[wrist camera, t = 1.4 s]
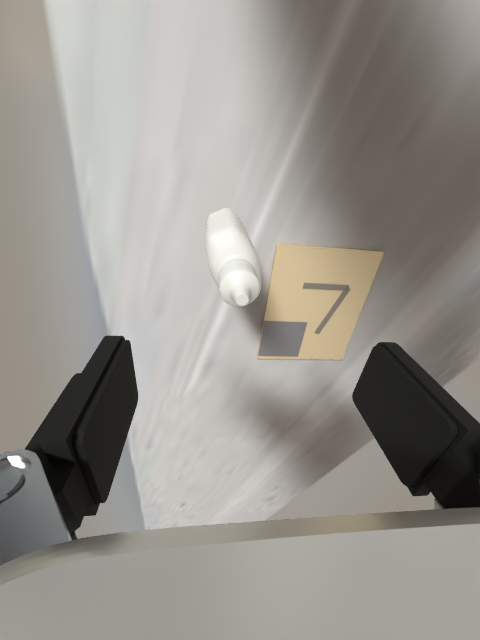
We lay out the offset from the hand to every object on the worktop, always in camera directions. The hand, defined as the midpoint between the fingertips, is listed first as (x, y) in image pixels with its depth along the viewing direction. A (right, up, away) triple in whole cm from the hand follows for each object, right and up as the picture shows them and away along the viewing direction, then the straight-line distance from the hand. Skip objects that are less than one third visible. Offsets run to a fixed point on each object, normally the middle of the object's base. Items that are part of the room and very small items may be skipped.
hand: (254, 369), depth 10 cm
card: (+8, +3, +19) cm, 21 cm away
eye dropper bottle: (-2, +9, +14) cm, 17 cm away
